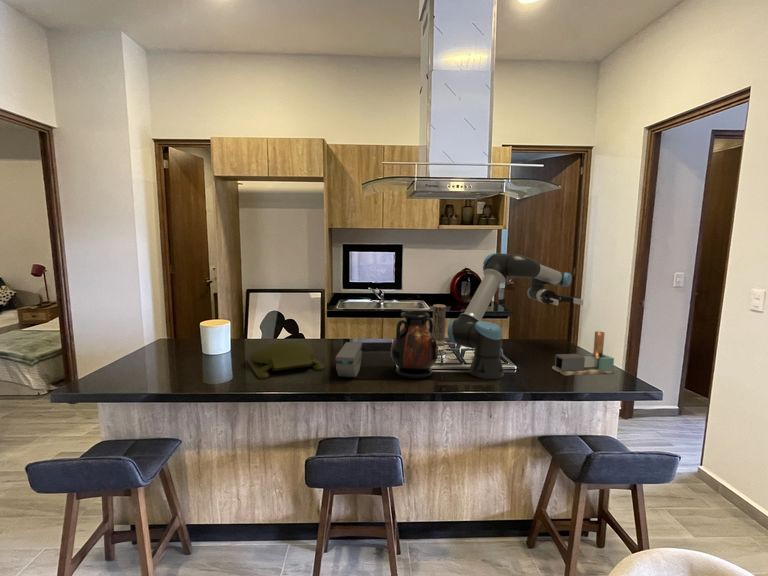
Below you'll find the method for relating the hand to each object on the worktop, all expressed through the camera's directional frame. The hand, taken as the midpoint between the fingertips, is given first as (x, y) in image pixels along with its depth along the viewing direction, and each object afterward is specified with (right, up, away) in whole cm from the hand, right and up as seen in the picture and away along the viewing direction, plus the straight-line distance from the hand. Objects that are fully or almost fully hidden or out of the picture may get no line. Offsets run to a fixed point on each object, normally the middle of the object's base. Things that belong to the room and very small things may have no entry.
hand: (570, 302), depth 207 cm
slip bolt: (+3, -30, -13) cm, 32 cm away
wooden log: (-64, -27, +20) cm, 73 cm away
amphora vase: (-81, -32, -20) cm, 89 cm away
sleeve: (-7, -31, -14) cm, 35 cm away
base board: (0, -32, -13) cm, 34 cm away
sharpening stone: (-110, -31, -20) cm, 116 cm away
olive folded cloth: (-143, -30, -9) cm, 146 cm away
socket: (+9, -31, -12) cm, 34 cm away
